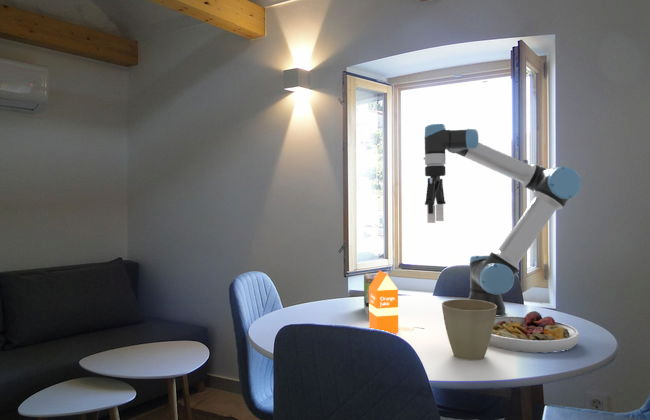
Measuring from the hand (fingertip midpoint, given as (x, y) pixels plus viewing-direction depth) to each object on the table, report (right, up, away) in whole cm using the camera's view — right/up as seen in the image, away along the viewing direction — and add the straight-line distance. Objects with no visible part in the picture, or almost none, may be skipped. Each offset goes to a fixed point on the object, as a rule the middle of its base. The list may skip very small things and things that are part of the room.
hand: (435, 222), depth 194 cm
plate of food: (+21, -38, -32) cm, 54 cm away
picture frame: (-22, -38, -18) cm, 47 cm away
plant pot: (-1, -38, -49) cm, 62 cm away
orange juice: (-22, -37, -18) cm, 46 cm away
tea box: (-21, -37, +14) cm, 45 cm away
